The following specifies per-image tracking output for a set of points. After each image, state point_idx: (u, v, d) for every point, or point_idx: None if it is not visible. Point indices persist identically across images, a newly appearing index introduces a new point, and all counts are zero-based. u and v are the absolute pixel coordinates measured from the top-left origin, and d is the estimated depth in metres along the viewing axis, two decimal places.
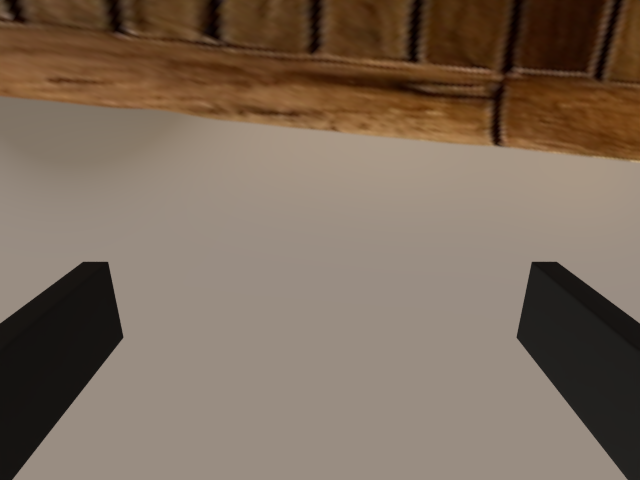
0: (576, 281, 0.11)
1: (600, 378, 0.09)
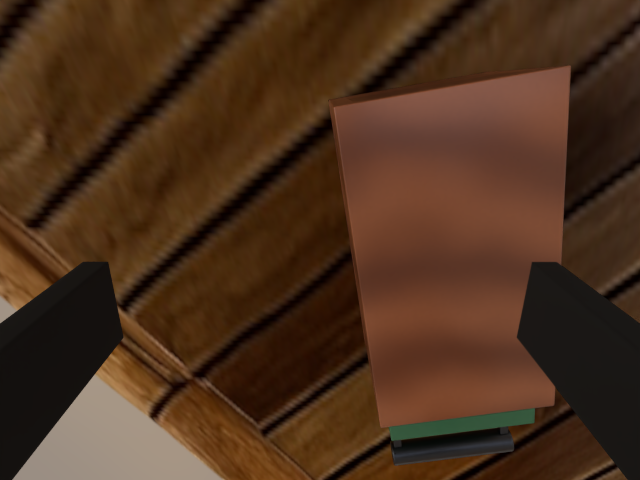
0: (576, 281, 0.11)
1: (599, 378, 0.09)
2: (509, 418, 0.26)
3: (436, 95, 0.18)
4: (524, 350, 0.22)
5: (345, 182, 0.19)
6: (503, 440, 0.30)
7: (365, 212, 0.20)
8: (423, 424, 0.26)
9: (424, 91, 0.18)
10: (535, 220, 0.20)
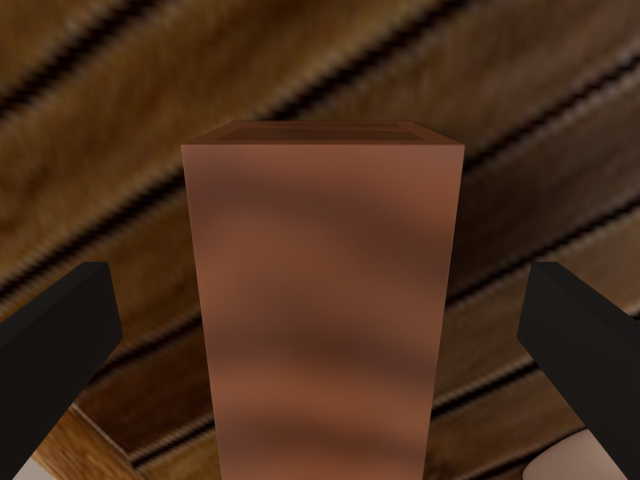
0: (576, 281, 0.11)
1: (600, 378, 0.09)
2: None
3: (305, 152, 0.15)
4: (390, 444, 0.20)
5: (192, 233, 0.16)
6: None
7: (215, 271, 0.16)
8: None
9: (292, 145, 0.15)
10: (411, 309, 0.17)
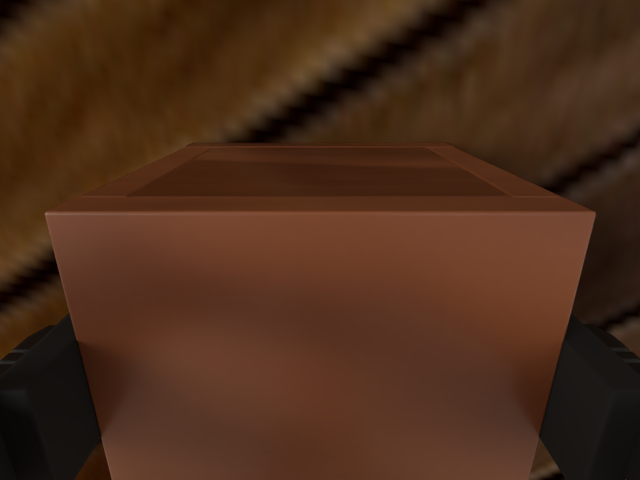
0: None
1: None
2: None
3: (286, 226, 0.08)
4: None
5: (84, 364, 0.09)
6: None
7: (130, 423, 0.09)
8: None
9: (260, 212, 0.08)
10: (473, 478, 0.10)
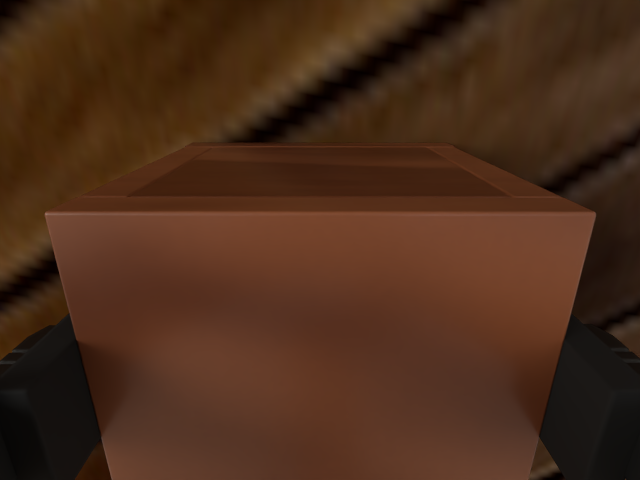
0: None
1: None
2: None
3: (286, 226, 0.08)
4: None
5: (84, 364, 0.09)
6: None
7: (130, 423, 0.09)
8: None
9: (261, 212, 0.08)
10: (473, 478, 0.10)
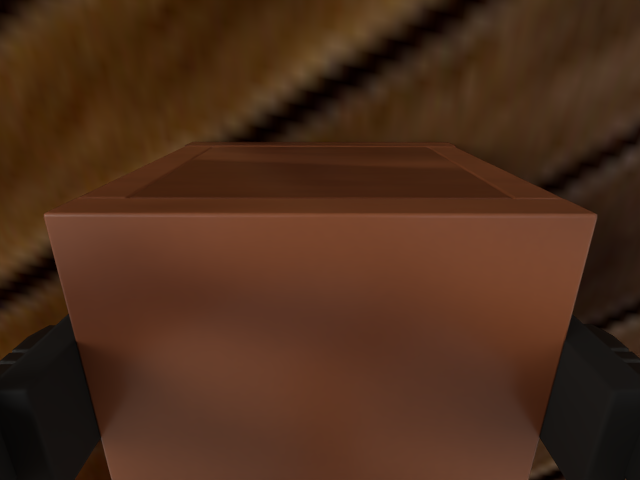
0: None
1: None
2: None
3: (286, 228, 0.08)
4: None
5: (83, 366, 0.09)
6: None
7: (130, 424, 0.09)
8: None
9: (261, 214, 0.08)
10: (473, 479, 0.10)
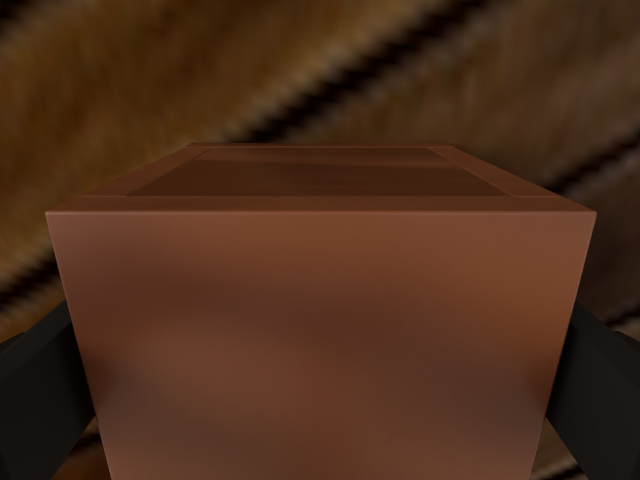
0: None
1: None
2: None
3: (286, 226, 0.08)
4: None
5: (84, 364, 0.09)
6: None
7: (130, 423, 0.09)
8: None
9: (261, 211, 0.08)
10: (474, 479, 0.10)
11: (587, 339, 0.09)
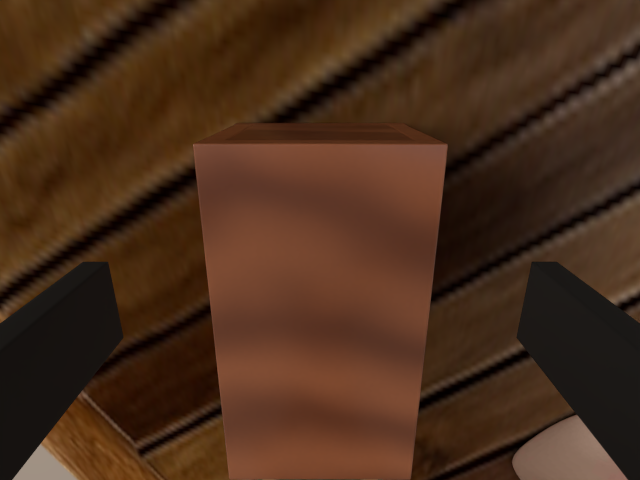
0: (576, 281, 0.11)
1: (600, 378, 0.09)
2: None
3: (304, 150, 0.16)
4: (383, 422, 0.21)
5: (202, 224, 0.17)
6: None
7: (222, 259, 0.18)
8: None
9: (293, 144, 0.16)
10: (401, 294, 0.19)
11: None
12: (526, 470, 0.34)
